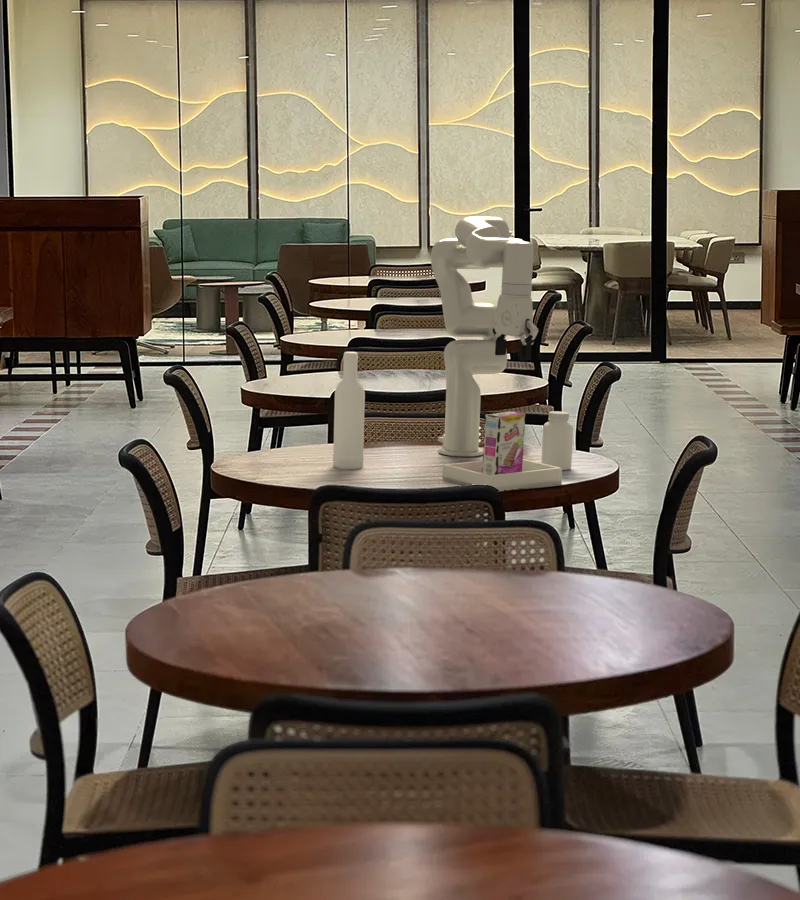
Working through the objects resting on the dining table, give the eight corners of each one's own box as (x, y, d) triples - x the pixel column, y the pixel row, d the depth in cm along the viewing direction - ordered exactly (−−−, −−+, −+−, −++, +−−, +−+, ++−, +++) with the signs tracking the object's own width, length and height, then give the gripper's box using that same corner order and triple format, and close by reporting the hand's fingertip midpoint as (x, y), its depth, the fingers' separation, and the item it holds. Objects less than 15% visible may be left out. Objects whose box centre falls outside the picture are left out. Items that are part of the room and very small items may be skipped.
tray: (442, 480, 396) (443, 464, 395) (514, 472, 410) (514, 457, 410) (489, 492, 382) (489, 476, 381) (561, 483, 396) (562, 468, 396)
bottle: (367, 465, 413) (370, 351, 408) (356, 470, 406) (359, 354, 401) (339, 463, 416) (341, 350, 411) (328, 467, 409) (330, 352, 404)
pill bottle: (571, 466, 422) (573, 411, 419) (571, 471, 414) (574, 415, 411) (541, 465, 422) (543, 409, 420) (541, 470, 414) (543, 413, 412)
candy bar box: (497, 482, 390) (499, 416, 387) (481, 479, 393) (483, 414, 391) (523, 476, 399) (526, 412, 396) (507, 474, 402) (510, 410, 399)
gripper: (483, 287, 401) (479, 353, 405) (527, 294, 388) (523, 363, 391) (505, 286, 406) (502, 352, 409) (550, 293, 392) (546, 361, 395)
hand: (512, 357), depth 400 cm, fingers open, 9 cm apart
